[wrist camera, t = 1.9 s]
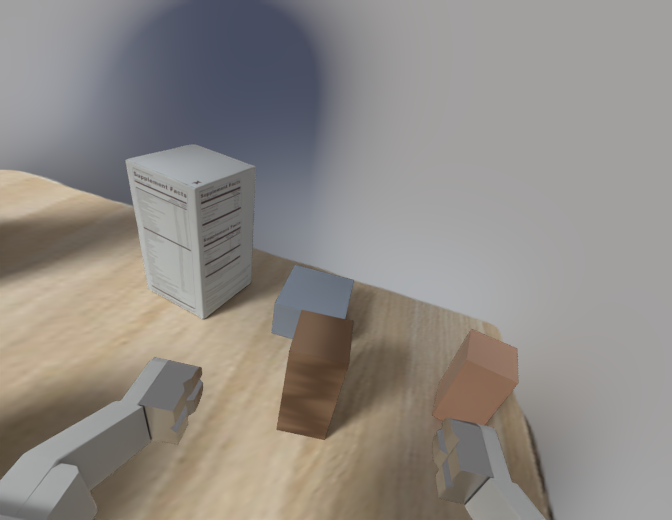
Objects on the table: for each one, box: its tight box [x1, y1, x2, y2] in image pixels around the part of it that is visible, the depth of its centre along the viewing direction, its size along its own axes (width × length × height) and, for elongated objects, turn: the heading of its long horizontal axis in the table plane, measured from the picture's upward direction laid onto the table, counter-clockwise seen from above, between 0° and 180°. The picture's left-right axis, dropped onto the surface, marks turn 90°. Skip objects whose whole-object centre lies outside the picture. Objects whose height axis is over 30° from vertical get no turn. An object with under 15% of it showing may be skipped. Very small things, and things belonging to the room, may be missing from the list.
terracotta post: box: [432, 329, 518, 425], centre depth 34 cm, size 4×4×9 cm
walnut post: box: [277, 310, 353, 440], centre depth 30 cm, size 4×4×11 cm
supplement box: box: [125, 144, 256, 319], centre depth 40 cm, size 10×9×17 cm
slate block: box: [272, 265, 354, 339], centre depth 42 cm, size 8×8×5 cm
